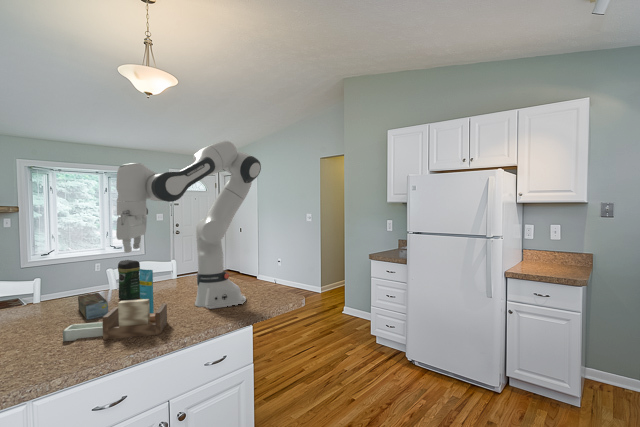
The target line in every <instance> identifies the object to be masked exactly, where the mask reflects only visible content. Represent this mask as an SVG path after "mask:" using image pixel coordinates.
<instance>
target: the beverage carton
mask: <svg viewBox="0 0 640 427" xmlns="http://www.w3.org/2000/svg"><path fill="white" fill-rule="evenodd" d="M77 302H78V303H77V304H78V309H79V312H80V313H81V314H82V315H83V317H84V318H85V320H93V319H96V318H97V319H98V318H102V317H103V316H105V315H106V314H107V313H108V312H109V303H108V301H107V300H106V298H104V296H102V295H101V294H100V292H94V293H87V294H84V295H83V294H82V295H78V296H77Z"/></svg>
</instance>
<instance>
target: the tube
mask: <svg viewBox="0 0 640 427" xmlns="http://www.w3.org/2000/svg"><path fill="white" fill-rule="evenodd" d="M139 270H140V271H139V278H140V297H139V300H141V299H149V306H150V313H155V311H154V306H155V305H154V274H153V273H154V272H153V269H145V268H143V269H142V268H140V269H139Z"/></svg>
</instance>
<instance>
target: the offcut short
mask: <svg viewBox="0 0 640 427" xmlns="http://www.w3.org/2000/svg"><path fill="white" fill-rule="evenodd" d="M155 313H156V312H154V313H150V323H151V322H156V320H155Z"/></svg>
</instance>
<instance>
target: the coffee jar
mask: <svg viewBox="0 0 640 427" xmlns="http://www.w3.org/2000/svg"><path fill="white" fill-rule="evenodd" d="M139 269H141V265H140V261H138V260H132V259H125V260H120V261H119V262H118V264H117V272H118V299H119V300H121V301H127V300H138V299H140V270H139Z"/></svg>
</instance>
